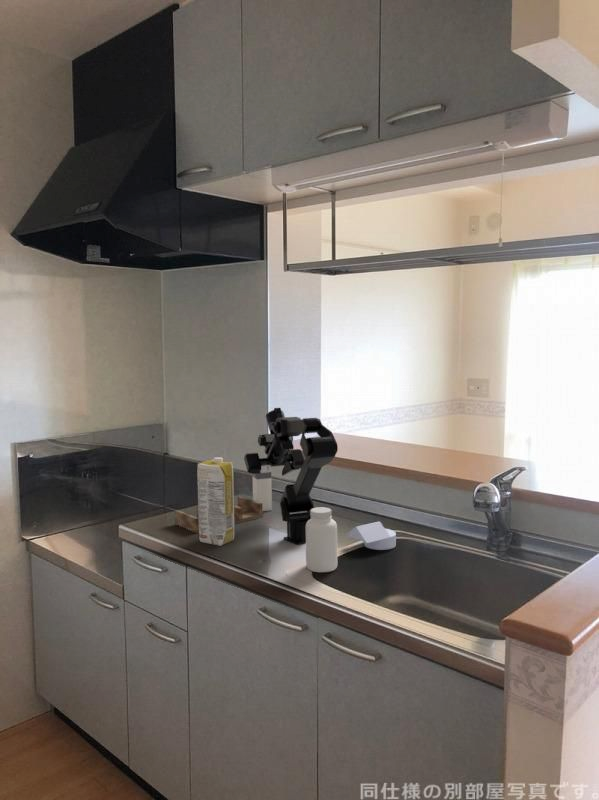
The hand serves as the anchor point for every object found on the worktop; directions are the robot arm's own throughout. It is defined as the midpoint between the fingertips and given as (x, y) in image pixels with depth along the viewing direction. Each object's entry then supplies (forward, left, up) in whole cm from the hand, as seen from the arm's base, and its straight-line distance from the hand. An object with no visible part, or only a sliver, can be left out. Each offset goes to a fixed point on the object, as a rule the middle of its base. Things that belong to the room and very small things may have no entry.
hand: (269, 475), depth 208 cm
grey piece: (+8, -3, -13) cm, 15 cm away
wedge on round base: (-42, -3, -13) cm, 45 cm away
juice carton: (-9, +27, -13) cm, 32 cm away
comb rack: (+7, +15, -13) cm, 21 cm away
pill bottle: (-44, +19, -13) cm, 50 cm away
